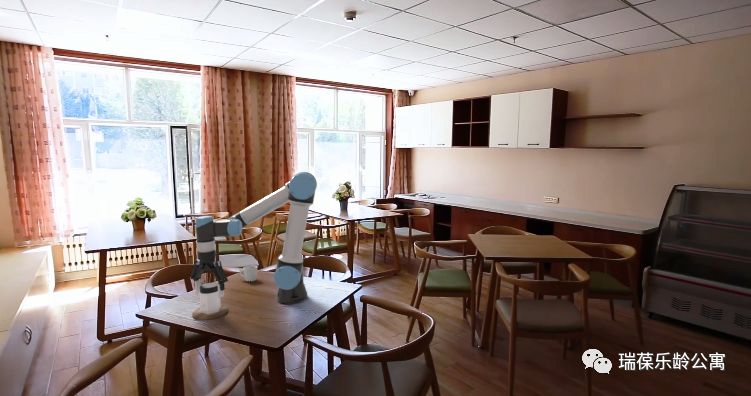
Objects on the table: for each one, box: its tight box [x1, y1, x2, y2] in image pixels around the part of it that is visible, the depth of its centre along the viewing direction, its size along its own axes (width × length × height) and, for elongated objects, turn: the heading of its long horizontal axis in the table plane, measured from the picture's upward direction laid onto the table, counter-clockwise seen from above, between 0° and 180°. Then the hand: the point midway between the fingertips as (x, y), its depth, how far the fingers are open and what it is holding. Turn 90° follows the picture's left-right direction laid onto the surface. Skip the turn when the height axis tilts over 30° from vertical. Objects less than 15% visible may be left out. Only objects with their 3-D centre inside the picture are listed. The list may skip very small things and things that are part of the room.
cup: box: [239, 264, 258, 282], centre depth 227 cm, size 11×8×8 cm
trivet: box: [192, 304, 229, 321], centre depth 179 cm, size 15×15×1 cm
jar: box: [199, 282, 222, 314], centre depth 178 cm, size 9×8×12 cm
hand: (209, 295), depth 178 cm, fingers open, 13 cm apart
